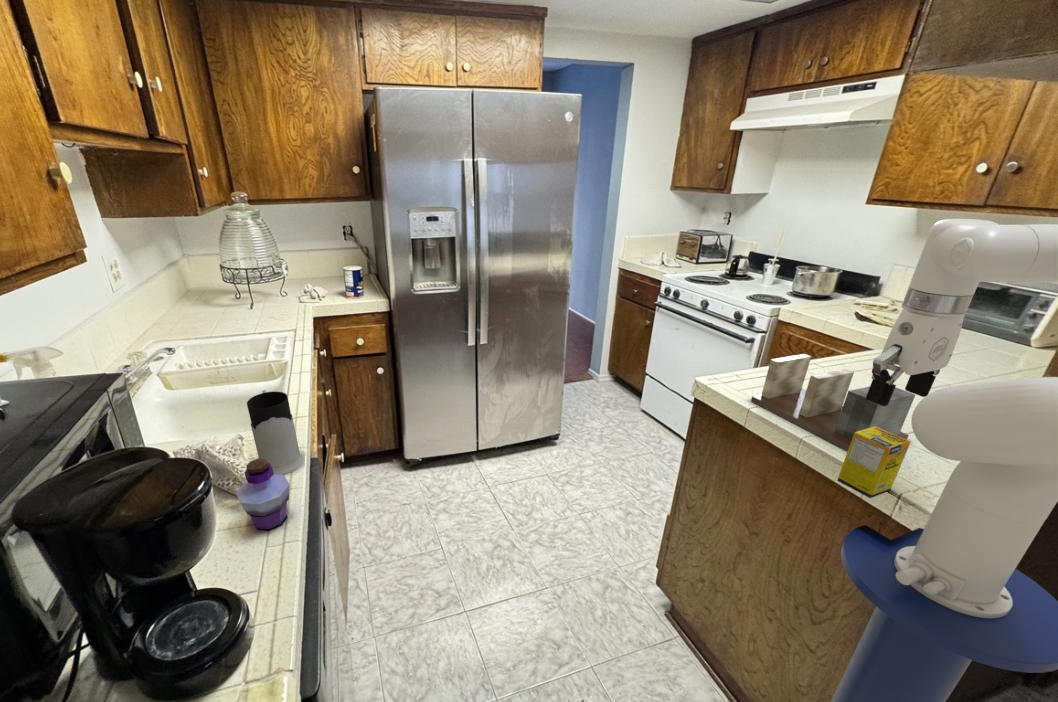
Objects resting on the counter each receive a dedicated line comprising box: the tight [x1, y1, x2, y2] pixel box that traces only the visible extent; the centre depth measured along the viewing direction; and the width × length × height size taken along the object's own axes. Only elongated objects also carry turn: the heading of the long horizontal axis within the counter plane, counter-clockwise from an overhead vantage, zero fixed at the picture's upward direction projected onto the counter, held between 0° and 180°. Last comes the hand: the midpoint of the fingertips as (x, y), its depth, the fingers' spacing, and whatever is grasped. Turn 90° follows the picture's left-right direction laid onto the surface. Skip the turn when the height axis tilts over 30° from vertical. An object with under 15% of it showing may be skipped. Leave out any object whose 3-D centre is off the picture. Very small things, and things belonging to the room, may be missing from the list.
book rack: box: [750, 353, 916, 452], centre depth 109 cm, size 16×26×12 cm, turn 18°
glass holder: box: [246, 389, 304, 475], centre depth 97 cm, size 9×14×15 cm, turn 28°
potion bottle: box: [235, 458, 291, 532], centre depth 80 cm, size 9×9×12 cm
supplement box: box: [837, 426, 911, 499], centre depth 86 cm, size 6×6×11 cm
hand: (896, 397), depth 81 cm, fingers open, 9 cm apart
